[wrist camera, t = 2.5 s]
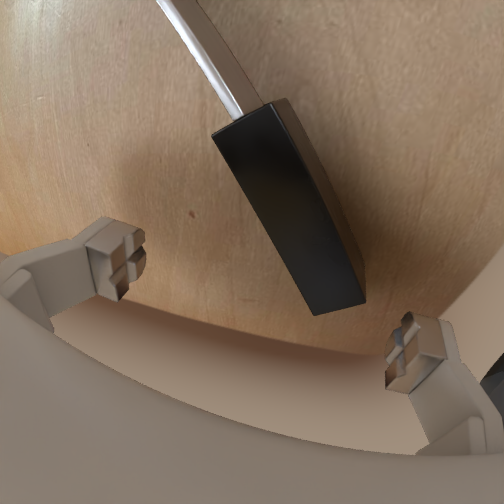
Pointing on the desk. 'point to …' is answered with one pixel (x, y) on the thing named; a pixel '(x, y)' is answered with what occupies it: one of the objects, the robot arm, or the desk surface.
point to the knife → (278, 173)
